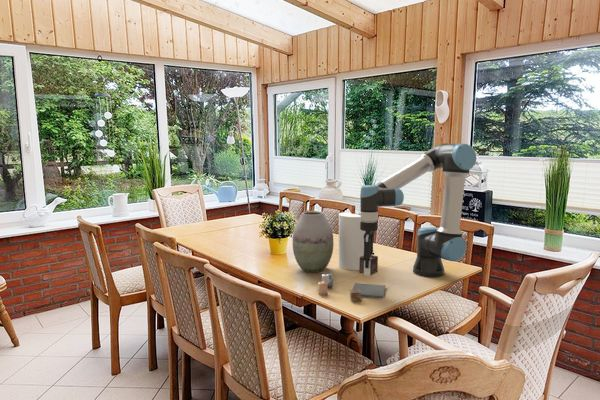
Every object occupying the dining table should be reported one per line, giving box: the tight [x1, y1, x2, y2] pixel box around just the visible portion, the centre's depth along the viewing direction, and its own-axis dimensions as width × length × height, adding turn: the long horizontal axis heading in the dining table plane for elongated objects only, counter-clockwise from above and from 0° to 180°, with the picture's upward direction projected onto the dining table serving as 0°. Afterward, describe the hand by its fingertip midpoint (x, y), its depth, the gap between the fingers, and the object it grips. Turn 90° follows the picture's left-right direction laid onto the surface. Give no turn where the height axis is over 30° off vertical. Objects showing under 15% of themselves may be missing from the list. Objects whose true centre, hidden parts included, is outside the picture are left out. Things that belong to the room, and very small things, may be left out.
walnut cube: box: [349, 289, 362, 303], centre depth 177 cm, size 4×4×4 cm
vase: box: [292, 210, 335, 274], centre depth 219 cm, size 21×21×30 cm
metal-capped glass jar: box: [321, 272, 334, 290], centre depth 194 cm, size 5×5×6 cm
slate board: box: [351, 282, 387, 300], centre depth 187 cm, size 14×14×1 cm
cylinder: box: [338, 211, 365, 271], centre depth 225 cm, size 17×17×28 cm
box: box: [358, 255, 379, 276], centre depth 185 cm, size 6×6×7 cm
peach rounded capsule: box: [317, 280, 328, 296], centre depth 185 cm, size 4×4×5 cm
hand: (368, 272), depth 186 cm, fingers closed on box, 8 cm apart
